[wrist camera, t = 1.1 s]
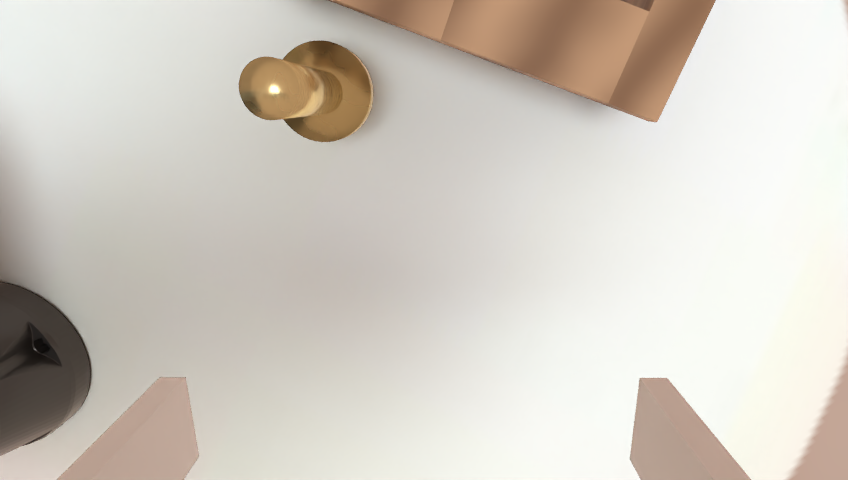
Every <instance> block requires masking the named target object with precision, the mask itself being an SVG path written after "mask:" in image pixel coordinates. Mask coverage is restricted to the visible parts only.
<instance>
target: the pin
mask: <svg viewBox="0 0 848 480" xmlns="http://www.w3.org/2000/svg"><path fill="white" fill-rule="evenodd" d="M239 91H240V96H241V98H242V101H243V103H244V104H245V106H246V107H247V108H248V110H250V111H251V112H252V113H253V114H254V115H256V116H258V117H260V118H262V119H266V120H278V119H284V121H285V122H286V123H287V124H288V125H289V126H290V127H291V128H292V129H293V130H294V131H295V132H297V133H298V134H300V135H301V136H303V137H305V138H307V139H310V140H314V141H319V142H330V141H336V140H339V139H342V138H345V137H347V136H349V135H351V134H353V133H354V132H356V131H357V130H358V129H359V128H360V127H361V126H362V125H363V124H364V123H365V121H366V120H367V118H368V116H369V114H370V111H371V108H372V104H373V84H372V80H371V77H370V75H369V72H368V70H367V69H366V67H365V65H364V64H363V63H362V61H361V60H360V59H359V58H358V57H357V56H356V55H355V54H353V53H352V52H351V51H349V50H347V49H346V48H344V47H342V46H340V45H338V44H335V43H332V42H328V41H310V42H307V43H303V44H301V45H299V46H297V47H296V48H294V49H293V50H291V51H290V52H289V53H288V54H287V55H286V56H285V57H284V59H283V60H281V59H277V58H273V57H260V58H257V59H254V60H253V61H251V62H250V63H249V64H247V65H246V67H245V68H244V69H243V71H242V73H241V76H240V80H239Z"/></svg>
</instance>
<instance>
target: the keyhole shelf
mask: <svg viewBox="0 0 848 480" xmlns="http://www.w3.org/2000/svg"><path fill="white" fill-rule="evenodd" d="M329 1H331V2H334V3H337V4H339V5H342V6H345V7H347V8H350V9H353V10H355V11H358V12H361V13H363V14H366V15H368V16H371V17H374V18H376V19H379V20H382V21H384V22H387V23H390V24H392V25H395V26H398V27H400V28H403V29H406V30H408V31H411V32H413V33H416V34H419V35H421V36H424V37H427V38H429V39H432V40H435V41H437V42H440V43H443V44H445V45H448V46H450V47H453V48H456V49H458V50H461V51H464V52H466V53H469V54H472V55H474V56H477V57H480V58H482V59H485V60H488V61H490V62H493V63H495V64H498V65H501V66H503V67H506V68H509V69H511V70H514V71H517V72H519V73H522V74H525V75H527V76H530V77H533V78H535V79H538V80H540V81H543V82H546V83H548V84H551V85H554V86H556V87H559V88H562V89H564V90H567V91H570V92H572V93H575V94H578V95H580V96H583V97H585V98H588V99H591V100H593V101H596V102H599V103H601V104H604V105H607V106H609V107H612V108H615V109H617V110H620V111H623V112H625V113H628V114H630V115H633V116H636V117H638V118H641V119H644V120H646V121H651V122H657V121H658V119H659V117H660V115H661V113H662V111H663V109H664V107H665V105H666V102H667V100H668V98H669V96H670V94H671V92H672V90H673V88H674V86H675V84H676V82H677V80H678V77H679V75H680V73H681V71H682V69H683V67H684V65H685V63H686V61H687V59H688V57H689V55H690V53H691V50H692V48H693V46H694V44H695V42H696V40H697V38H698V36H699V34H700V32H701V30H702V28H703V25H704V23H705V21H706V19H707V17H708V15H709V13H710V11H711V9H712V7H713V5H714V3H715V1H716V0H329Z"/></svg>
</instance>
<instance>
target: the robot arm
mask: <svg viewBox="0 0 848 480" xmlns="http://www.w3.org/2000/svg"><path fill="white" fill-rule="evenodd" d="M89 384H90V366H89V360H88V356H87V353H86V350H85V348H84V345H83V343H82V341H81V339H80V337H79V336H78V334H77V332H76V331H75V329H74V328H73V327H72V325H71V324H70V323H69V322H68V320H67V319H66V318H65V317H64V316H63V315H62V314H61V313H60V312H59V311H58V310H57V309H56V308H54V307H53V306H52V305H51V304H49V303H48V302H47V301H45V300H44V299H42V298H41V297H39V296H37V295H35V294H34V293H32V292H30V291H28V290H25V289H23V288H20V287H18V286H15V285H11V284H8V283H3V282H0V456H1V455H3V454H6V453H8V452H10V451H12V450H14V449H16V448H18V447H20V446H24V445H28V444H30V443H33V442H35V441H38V440H40V439H42V438H44V437H46V436H47V435H49V434H51V433H52V432H54V431H55V430H56V429H57V428H59V427H60V426H61V425H62V424H63V423H65V422H66V421H67V420H68V419H69V418H70V417H72V416H73V415H74V414H75V413H76V412H77V411H78V409H79V408H80V407H81V405H82V404H83V402H84V400H85V398H86V396H87V393H88V389H89ZM198 457H199V452H198V446H197V440H196V435H195V429H194V423H193V417H192V412H191V406H190V400H189V394H188V388H187V383H186V377H160V378H159V379H158V380H157V381H156V382H155V383H154V384H153V385H152V386H151V387H150V388H149V389H148V390H147V391H146V392H145V393H144V394H143V395H142V396H141V397H140V398H139V399H138V400H137V401H136V402H135V403H134V404H133V405H132V406H131V407H130V408H129V409H128V410H127V411H126V412H125V413H124V414H123V415H122V416H121V417H120V418H119V419H117V420H116V421H115V422H114V423H113V424H112V425H111V426H110V427H109V428H108V429H107V430H106V431H105V432H104V433H103V434H102V435H101V436H100V437H99V438H98V439H97V440H96V441H95V442H94V443H93V444H92V445H91V446H90V447H89V448H88V449H87V450H86V451H85V452H84V453H83V454H82V455H81V456H80V457H79V458H78V459H77V460H76V461H75V462H74V463H73V464H72V465H71V466H70V467H69V468H68V469H67V470H66V471H65V472H64V473H63V474H62V475H61V476H60V477H59V478H58V479H57V480H184V478H185V477H186V475H187V474H188V472H189V471H190V469H191V468H192V466H193V465H194V463H195V462H196V460H197V459H198ZM630 460H631V462H632V464H633V466H634V468H635V470H636V471H637V473H638V475H639V477H640V479H641V480H751V479H750V478H749V477H748V475H747V474H746V473H745V472H744V470H743V469H742V468H741V467H740V466H739V464H738V463H737V462H736V461H735V460H734V458H733V457H732V456H731V455H730V454H729V452H728V451H727V450H726V449H725V447H724V446H723V445H722V444H721V443H720V441H719V440H718V439H717V438H716V437H715V435H714V434H713V433H712V432H711V431H710V429H709V428H708V427H707V426H706V425H705V423H704V422H703V421H702V420H701V418H700V417H699V416H698V415H697V414H696V412H695V411H694V410H693V409H692V408H691V406H690V405H689V404H688V403H687V402H686V400H685V399H684V398H683V397H682V396H681V394H680V393H679V392H678V391H677V389H676V388H675V387H674V386H673V385H672V383H671V382H670V381H669V380H668V379H667V378H640V380H639V388H638V396H637V404H636V413H635V421H634V429H633V437H632V445H631V454H630Z"/></svg>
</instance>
